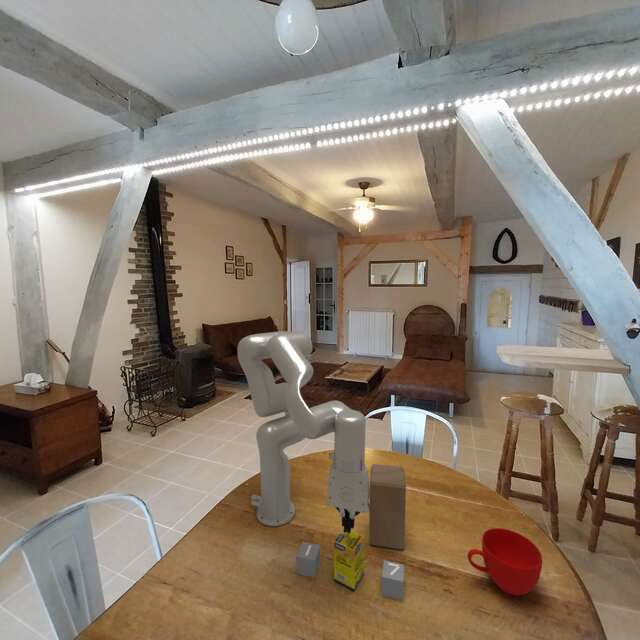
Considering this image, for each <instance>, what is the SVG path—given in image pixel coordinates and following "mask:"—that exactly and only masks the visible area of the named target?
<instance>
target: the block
mask: <svg viewBox="0 0 640 640" xmlns="http://www.w3.org/2000/svg"><path fill="white" fill-rule="evenodd" d="M405 472H406V471H405V468H404V467H403V466H395V465H389V464H388V465H387V464H377V463H372V464H371V466H370V473H369V474H370V475H369V505H370V511H369V513H368V514H369V515H368V516H369V517H368V519H369V520H368V522H369V523H368V525H369V526H368V528H369V529H368V530H369V531H368V536H369V538H368V541H369V543H370V545H371V546H375V547H382V548H387V549H388V548H389V549H396V550H404V548H405V542H406V538H405V537H406V505H407V503H406V502H407V501H406V500H407V499H406V496H407V495H406V494H407V485H406V484H407V483H406V473H405Z"/></svg>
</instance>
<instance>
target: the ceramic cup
mask: <svg viewBox="0 0 640 640" xmlns="http://www.w3.org/2000/svg"><path fill="white" fill-rule="evenodd" d="M474 555H479V556H481V557H482V558H483V559H482V560H483V562H484V566H481V565H478V564H477V563H475V562H474V561H473V560H472V557H473V556H474ZM467 560H468V562H469V563H470V565H471V566H472V567H473V568H475V570H478V571H480V572H483V573H485V574H486V573H487V574H488V575H489V577H490V578H491V580H492V581H493V582H494V583H495V584H496V586H497V587H498V588H499V590H501V591H503V592H504V593H506V594H508V595H511V596H514V597H515V596H516V597H517V596H522V595H525V594H528V593H530V592H531V591H533V590H534V588H535V587H536V586H537V584H538V583H539V580H540V576H541V572H542V567H543V556H542V553H541V551H540V550H539V548H538V547H537V546H536V545H535V544H534V542H532V541H531V540H530V539H529V538H528V537H526V536H524V535H522V534H521V533H519V532H517V531H514V530H511V529H507V528H500V527H495V528H489V529H488V530H485V531H484V533H483V534H482V536H481V550H480V549H477V548H471V549H470V550H469V551H468V553H467Z"/></svg>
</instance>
